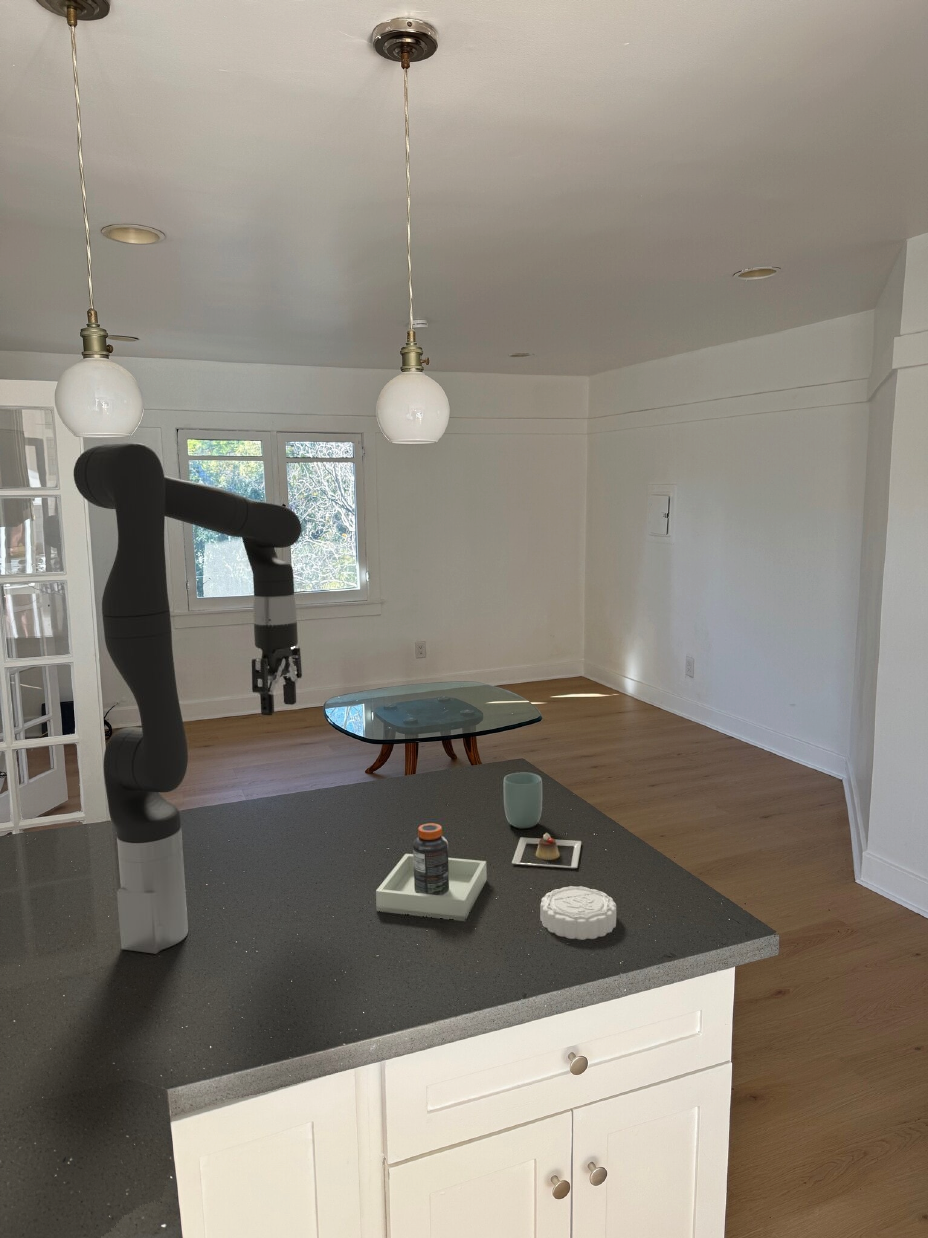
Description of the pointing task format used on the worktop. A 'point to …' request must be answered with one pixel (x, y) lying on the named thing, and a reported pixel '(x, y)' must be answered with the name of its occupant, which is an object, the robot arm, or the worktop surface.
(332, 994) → the worktop surface
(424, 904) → the tray
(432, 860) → the pill bottle
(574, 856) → the dessert
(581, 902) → the mooncake
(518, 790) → the cup
